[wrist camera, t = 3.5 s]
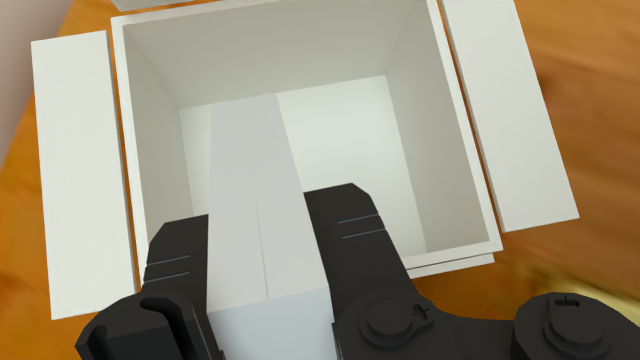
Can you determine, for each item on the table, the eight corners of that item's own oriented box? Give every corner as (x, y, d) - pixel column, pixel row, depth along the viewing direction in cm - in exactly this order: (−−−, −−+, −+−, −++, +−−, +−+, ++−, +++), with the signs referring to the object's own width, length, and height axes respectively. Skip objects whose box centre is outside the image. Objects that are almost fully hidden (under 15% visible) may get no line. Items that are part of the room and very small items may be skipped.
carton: (438, 62, 38) (499, -45, 26) (490, 261, 35) (587, 243, 23) (119, 115, 36) (29, 27, 24) (144, 330, 33) (54, 349, 21)
